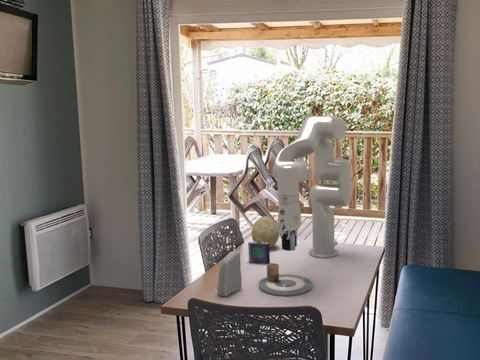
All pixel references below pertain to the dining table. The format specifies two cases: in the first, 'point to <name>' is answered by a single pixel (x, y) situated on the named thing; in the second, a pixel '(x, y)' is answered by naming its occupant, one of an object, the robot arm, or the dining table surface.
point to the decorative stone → (229, 274)
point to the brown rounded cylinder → (272, 272)
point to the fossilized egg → (265, 231)
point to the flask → (259, 252)
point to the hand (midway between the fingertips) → (289, 247)
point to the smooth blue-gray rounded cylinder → (291, 241)
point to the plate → (286, 285)
